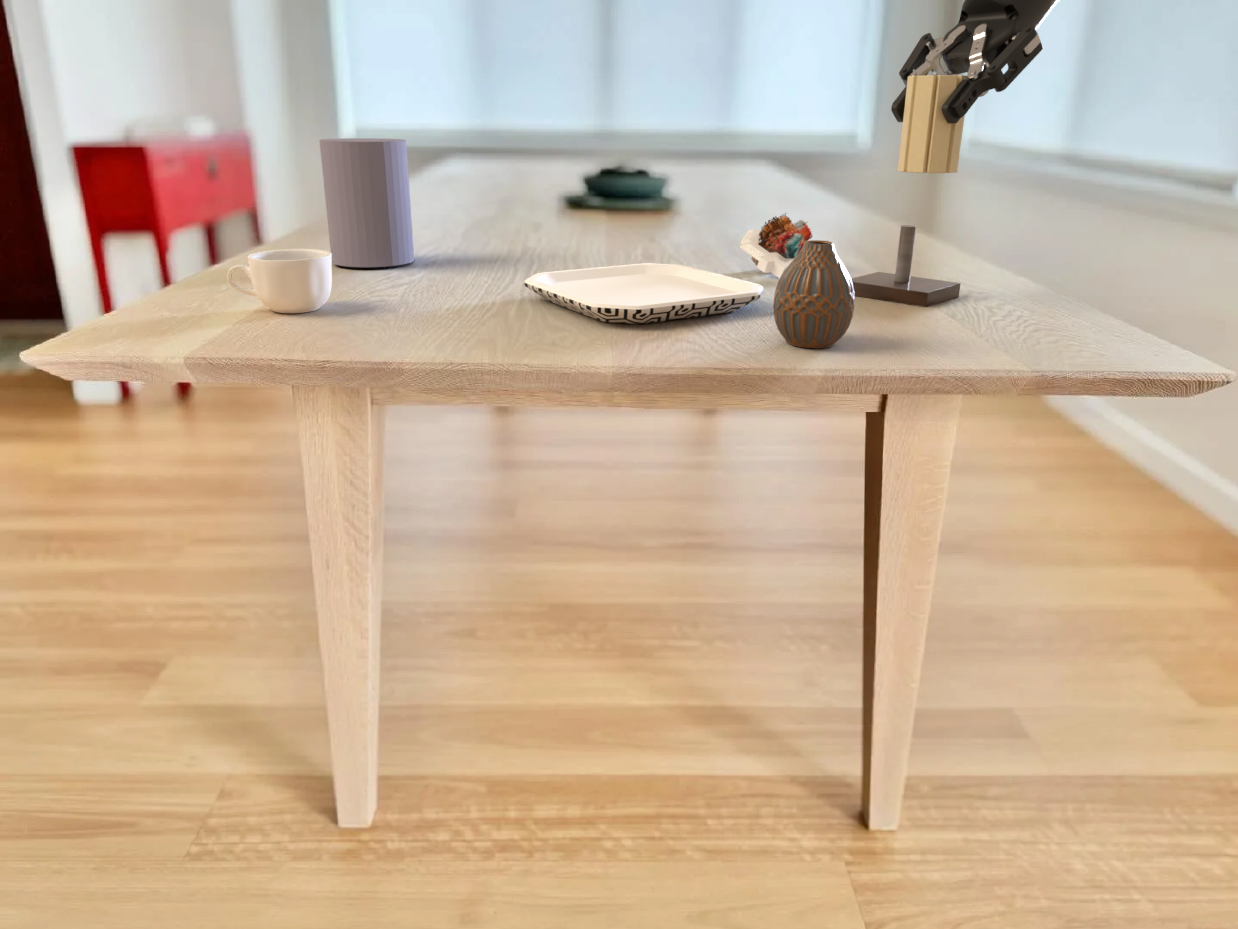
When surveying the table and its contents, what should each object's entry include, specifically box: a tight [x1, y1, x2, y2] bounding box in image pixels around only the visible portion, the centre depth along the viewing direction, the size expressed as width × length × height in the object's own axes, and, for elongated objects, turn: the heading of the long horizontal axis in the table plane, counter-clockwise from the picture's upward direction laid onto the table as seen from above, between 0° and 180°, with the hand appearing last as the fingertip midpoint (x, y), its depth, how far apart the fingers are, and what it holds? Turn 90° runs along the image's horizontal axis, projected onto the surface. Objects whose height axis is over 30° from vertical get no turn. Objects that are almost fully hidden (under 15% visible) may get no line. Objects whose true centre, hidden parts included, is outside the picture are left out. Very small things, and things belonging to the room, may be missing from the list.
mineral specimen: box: [739, 212, 813, 280], centre depth 116 cm, size 12×12×7 cm
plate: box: [523, 262, 765, 325], centre depth 97 cm, size 21×21×2 cm
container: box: [319, 137, 415, 270], centre depth 116 cm, size 10×10×15 cm
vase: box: [773, 239, 856, 349], centre depth 80 cm, size 7×7×9 cm
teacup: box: [226, 248, 333, 314], centre depth 92 cm, size 10×8×5 cm
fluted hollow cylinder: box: [897, 74, 968, 174], centre depth 93 cm, size 6×6×9 cm
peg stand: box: [851, 224, 961, 308], centre depth 101 cm, size 10×8×8 cm
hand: (922, 116), depth 92 cm, fingers closed on fluted hollow cylinder, 6 cm apart
